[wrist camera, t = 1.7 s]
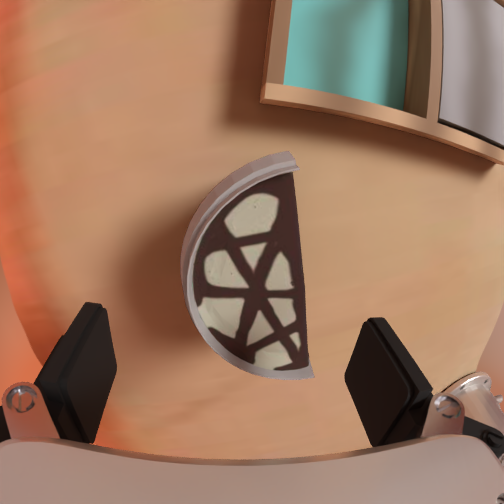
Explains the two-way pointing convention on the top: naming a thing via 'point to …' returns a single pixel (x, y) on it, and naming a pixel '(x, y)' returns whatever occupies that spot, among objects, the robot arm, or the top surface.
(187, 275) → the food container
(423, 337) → the top surface
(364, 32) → the compartment tray
